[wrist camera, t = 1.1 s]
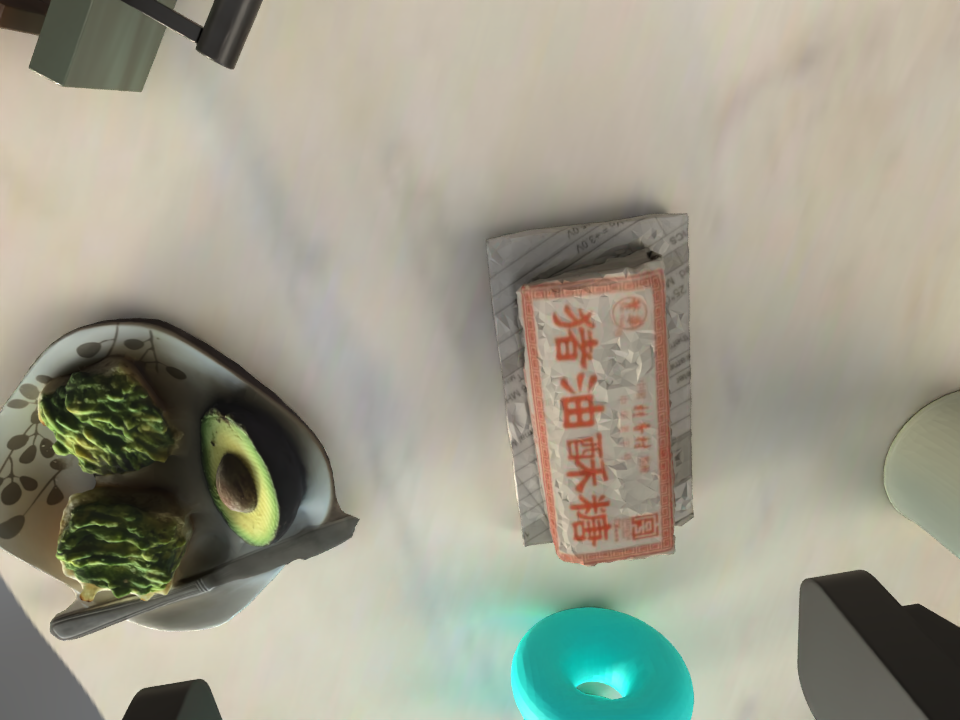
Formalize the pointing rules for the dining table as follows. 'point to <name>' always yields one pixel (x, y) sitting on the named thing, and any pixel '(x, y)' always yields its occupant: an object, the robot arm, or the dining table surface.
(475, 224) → the dining table surface
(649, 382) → the packaged product
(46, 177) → the dining table surface
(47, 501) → the salad plate
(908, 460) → the can
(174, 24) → the drawer
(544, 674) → the donuts
